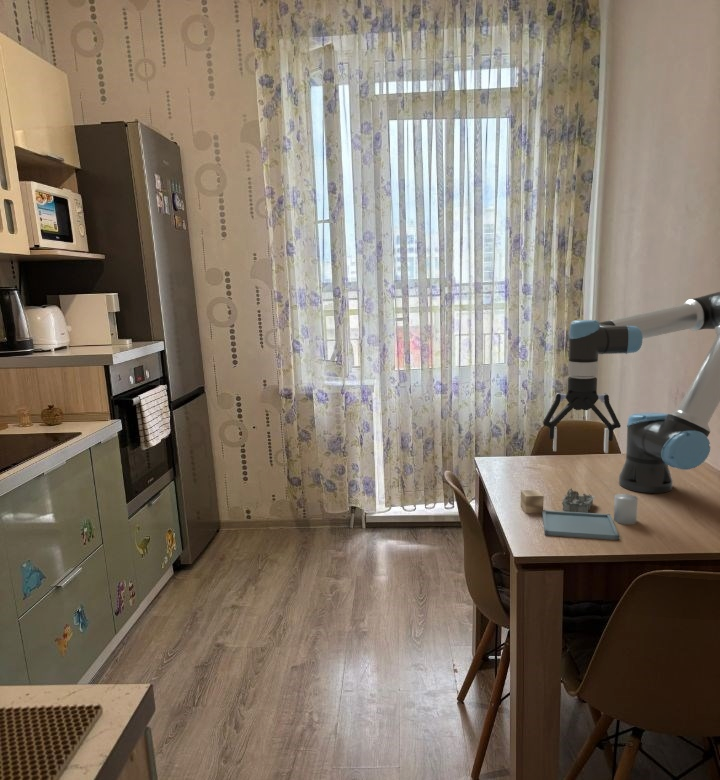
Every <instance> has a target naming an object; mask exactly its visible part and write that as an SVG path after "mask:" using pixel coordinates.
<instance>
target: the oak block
mask: <svg viewBox="0 0 720 780" xmlns="http://www.w3.org/2000/svg"><path fill="white" fill-rule="evenodd" d="M544 497H545V495H543V493H542V492H541V491H540V490H539V489H528V490H520V508H521V509H522V510H523V512H524V513H525V514H538V513H539V514H540V513H541V514H542V510H544V499H545V498H544Z"/></svg>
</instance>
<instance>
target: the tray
mask: <svg viewBox="0 0 720 780" xmlns="http://www.w3.org/2000/svg"><path fill="white" fill-rule="evenodd" d="M541 515H542V524H543V533H544V536H554V537H567V538H581V539H582V538H584V539H595V540H597V539H599V540H611V541H619V540H620V535H619V532H618V530H617V528H616V525H615V523H614V522H615V521H614V519H613V518H612V515H611V514H610V513H597V512H595V513H594V512H588V513H582V512H566V511H565V510H547V509H543V510H542V513H541Z"/></svg>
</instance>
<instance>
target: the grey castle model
mask: <svg viewBox="0 0 720 780" xmlns="http://www.w3.org/2000/svg"><path fill="white" fill-rule="evenodd" d="M594 499H595V495H592V494H586V493H583V494H582V495H580V493H579V491H577V490H573V489H572V487H570V488H569V489H568V490H567V492H566V495H564V497H563V499H562V500H561V501H562V502H561V505H562V511H566V512H582V513H589V510H591V507H592V506H594V503H593V501H594Z"/></svg>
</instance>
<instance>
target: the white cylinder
mask: <svg viewBox="0 0 720 780" xmlns="http://www.w3.org/2000/svg"><path fill="white" fill-rule="evenodd" d="M638 502H639V501H638V497H637V496H636V495H632V494H629V493H628V494H627V493H619V494H618V493H617V494H615V495H614V505H613V522H615V523H618V524H620V525H621V524H622V525H627V526H628V525H629V526H630V525H635V524H637V518H638V516H637V515H638Z"/></svg>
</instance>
